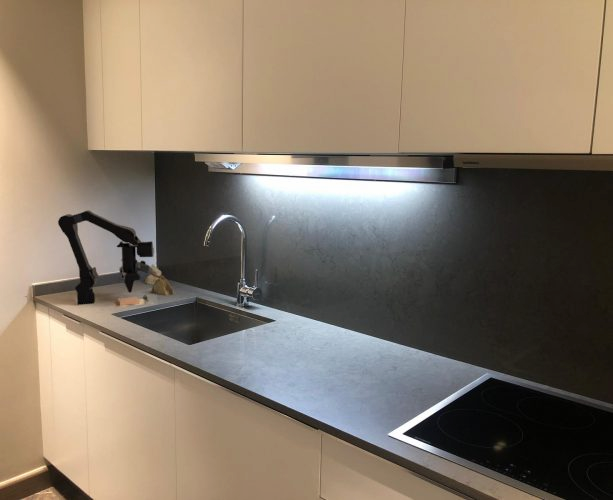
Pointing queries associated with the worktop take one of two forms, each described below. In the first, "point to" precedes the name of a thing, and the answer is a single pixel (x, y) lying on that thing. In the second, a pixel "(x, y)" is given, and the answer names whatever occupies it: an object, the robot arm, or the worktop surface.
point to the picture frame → (128, 301)
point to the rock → (162, 287)
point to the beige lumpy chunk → (153, 275)
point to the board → (141, 302)
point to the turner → (147, 300)
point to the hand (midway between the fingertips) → (130, 292)
